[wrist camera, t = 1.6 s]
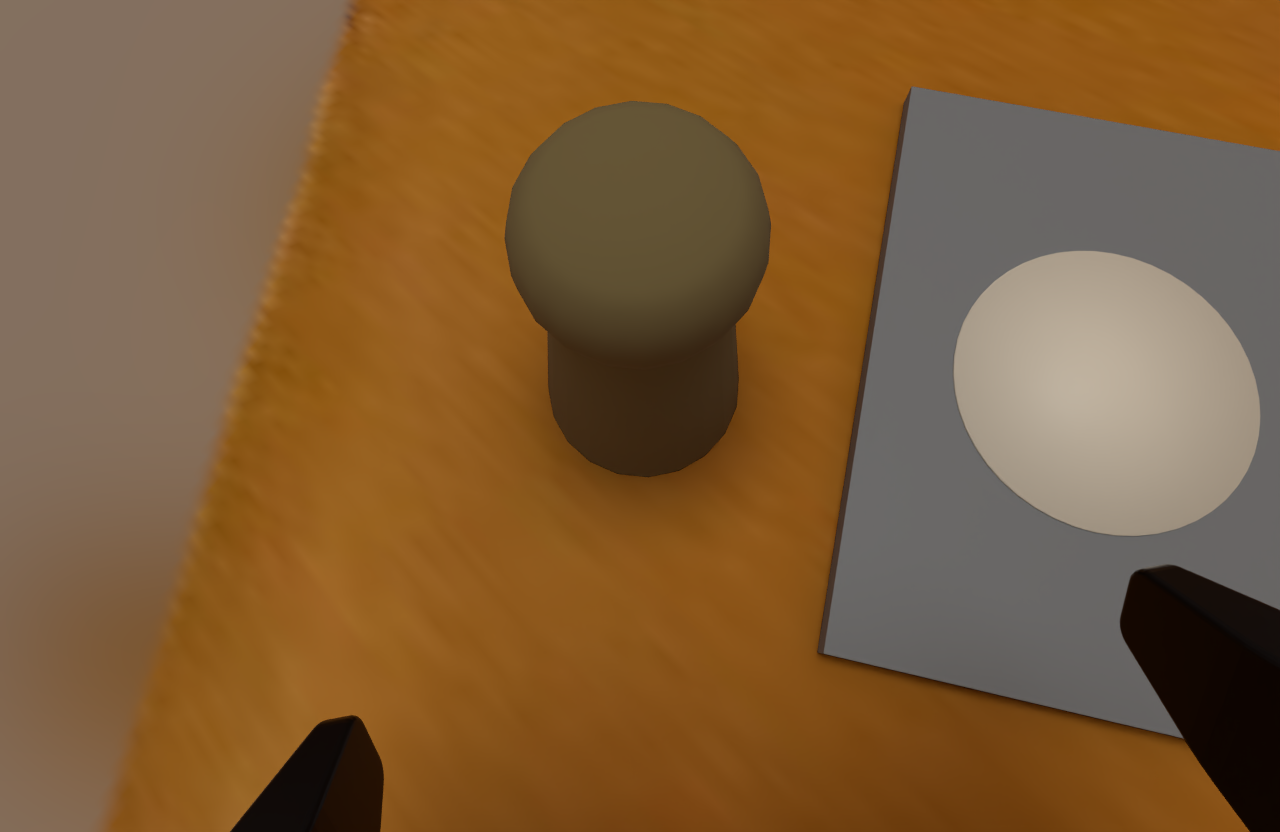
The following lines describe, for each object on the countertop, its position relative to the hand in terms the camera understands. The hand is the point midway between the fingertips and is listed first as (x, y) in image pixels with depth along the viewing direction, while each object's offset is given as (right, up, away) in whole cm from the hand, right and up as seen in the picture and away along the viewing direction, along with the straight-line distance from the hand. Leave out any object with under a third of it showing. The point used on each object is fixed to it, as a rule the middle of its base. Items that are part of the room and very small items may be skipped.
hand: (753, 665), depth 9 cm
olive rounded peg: (-1, +4, +15) cm, 16 cm away
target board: (+13, +4, +15) cm, 20 cm away
